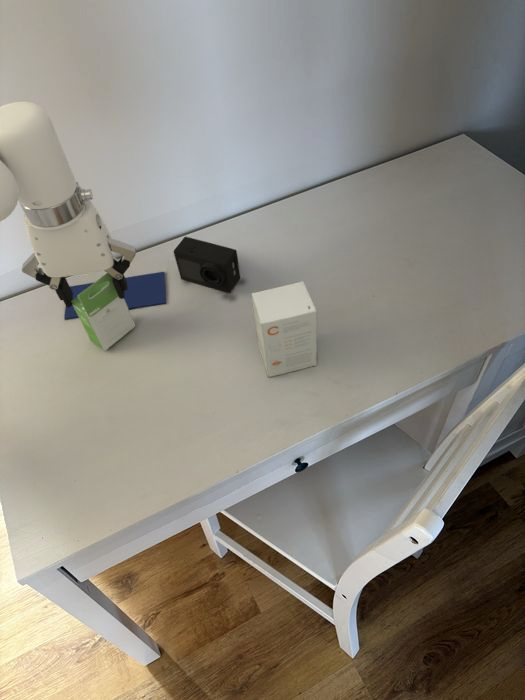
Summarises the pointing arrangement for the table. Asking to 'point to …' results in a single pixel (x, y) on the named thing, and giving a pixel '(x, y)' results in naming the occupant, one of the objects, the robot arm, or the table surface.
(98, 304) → the ink box
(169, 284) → the table surface
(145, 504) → the table surface
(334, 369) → the table surface
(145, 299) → the cloth
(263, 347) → the small box
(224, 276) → the digital camera
